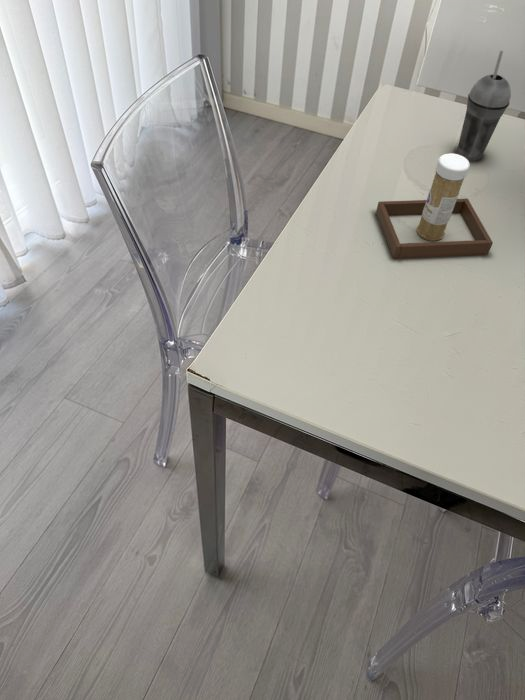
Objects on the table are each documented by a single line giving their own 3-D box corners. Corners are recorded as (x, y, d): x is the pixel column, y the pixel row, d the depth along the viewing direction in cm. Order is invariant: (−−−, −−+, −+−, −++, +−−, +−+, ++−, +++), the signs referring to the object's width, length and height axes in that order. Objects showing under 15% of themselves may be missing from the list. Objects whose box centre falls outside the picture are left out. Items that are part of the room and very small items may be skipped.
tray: (462, 213, 98) (467, 198, 96) (486, 257, 91) (493, 242, 89) (374, 216, 97) (378, 201, 94) (392, 262, 89) (396, 246, 87)
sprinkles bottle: (412, 225, 95) (434, 152, 84) (438, 223, 95) (463, 151, 85) (421, 243, 92) (446, 170, 81) (448, 241, 92) (475, 168, 82)
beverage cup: (495, 161, 109) (537, 53, 94) (469, 172, 107) (509, 63, 91) (466, 143, 113) (503, 37, 98) (441, 153, 110) (475, 46, 95)
